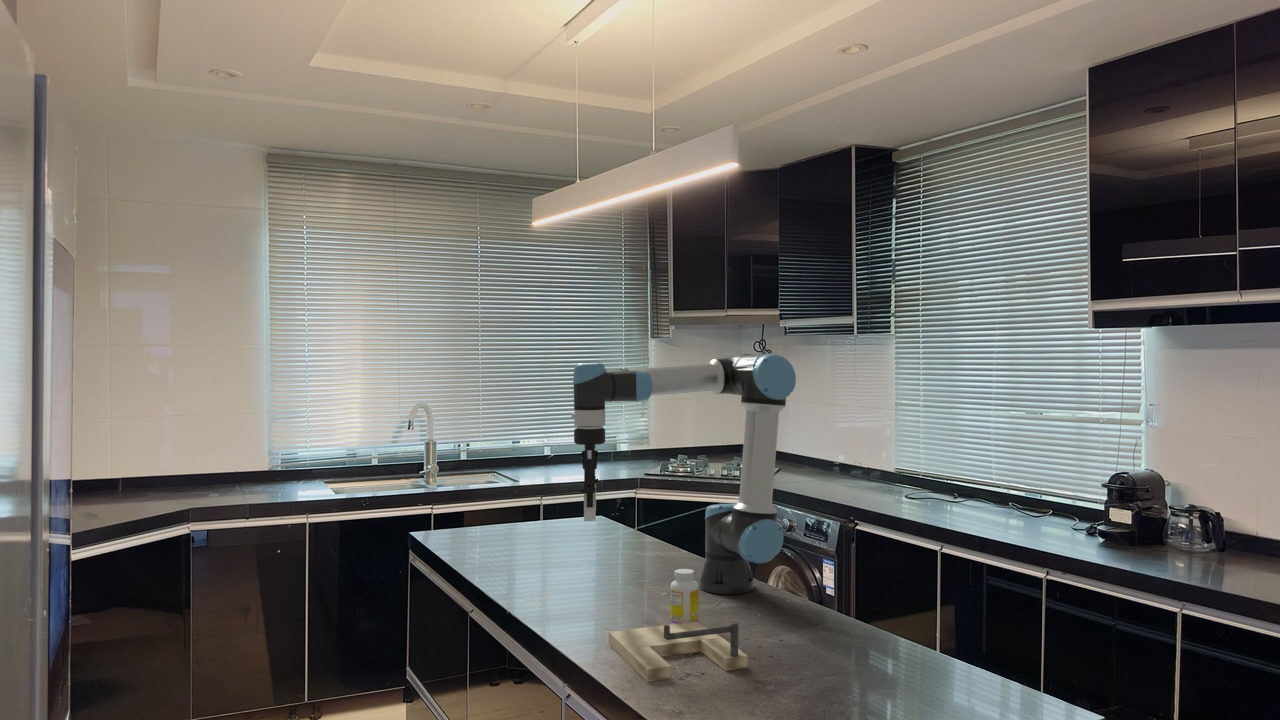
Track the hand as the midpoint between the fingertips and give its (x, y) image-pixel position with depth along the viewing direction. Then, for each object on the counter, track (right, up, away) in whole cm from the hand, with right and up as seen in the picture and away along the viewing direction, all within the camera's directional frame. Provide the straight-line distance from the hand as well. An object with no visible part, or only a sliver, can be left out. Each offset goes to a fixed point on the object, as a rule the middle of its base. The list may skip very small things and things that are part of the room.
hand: (590, 515), depth 205 cm
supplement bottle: (+23, -26, -2) cm, 34 cm away
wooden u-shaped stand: (+19, -26, -23) cm, 39 cm away
